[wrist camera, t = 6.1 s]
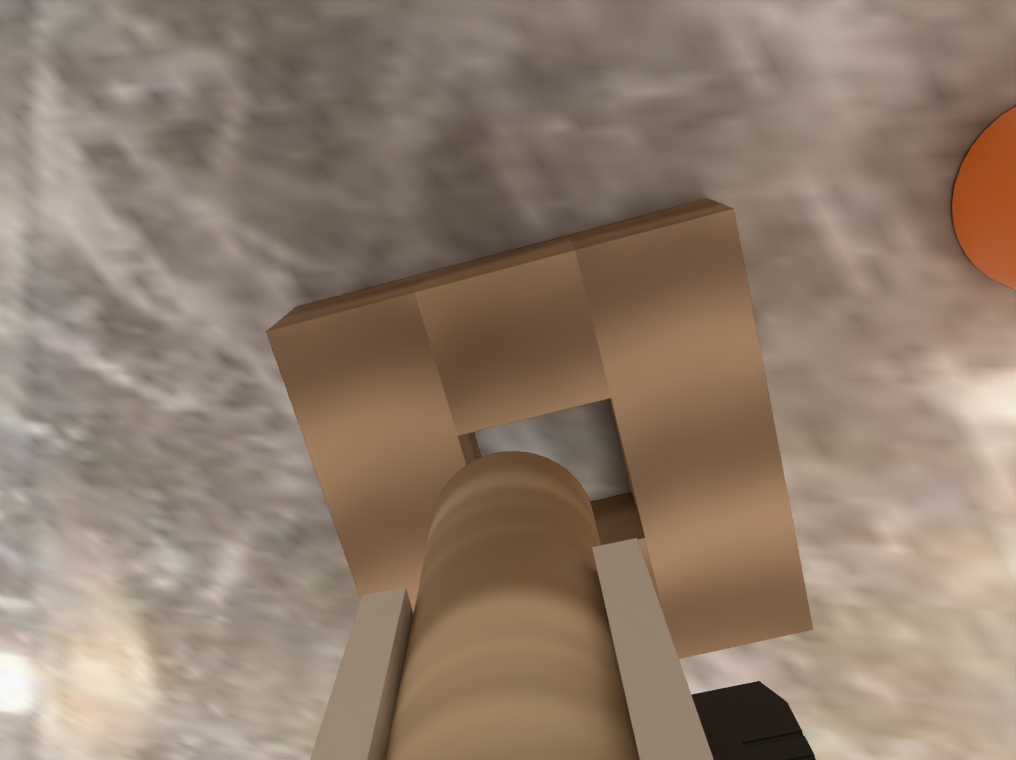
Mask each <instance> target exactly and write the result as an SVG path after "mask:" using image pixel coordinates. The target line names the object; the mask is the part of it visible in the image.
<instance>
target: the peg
mask: <svg viewBox="0 0 1016 760" xmlns="http://www.w3.org/2000/svg"><path fill="white" fill-rule="evenodd" d="M596 546H601V543H600V539H599V535H598V531H597V527H596V523H595V519H594V514H593V511H592V507H591V503H590V501H589V499H588V496H587V494H586V492H585V491H584V489H583V487H582V486H581V484H580V483H579V482H578V481H577V479H576V478H575V477H574V476H573V475H572V474H571V473H570V472H569V471H568V470H566V469H565V468H564V467H562V466H561V465H559V464H558V463H556V462H554V461H552V460H550V459H548V458H545V457H543V456H540V455H537V454H532V453H528V452H519V451H507V452H499V453H494V454H490V455H487V456H484V457H481V458H479V459H476V460H474V461H473V462H471V463H469V464H467V465H466V466H464V467H463V468H462V469H460V470H459V471H458V472H457V473H456V474H455V475H454V476H453V477H452V478H451V479H450V480H449V481H448V482H447V484H446V485H445V486H444V488H443V489H442V491H441V493H440V495H439V497H438V499H437V502H436V504H435V508H434V512H433V516H432V521H431V526H430V531H429V537H428V542H427V547H426V552H425V557H424V562H423V567H422V572H421V577H420V582H419V588H418V593H417V598H416V603H415V608H414V613H413V618H412V624H411V629H410V634H409V639H408V644H407V649H406V654H405V659H404V665H403V670H402V675H401V680H400V685H399V690H398V695H397V700H396V705H395V711H394V716H393V721H392V726H391V731H390V736H389V741H388V746H387V751H386V757H385V760H640V758H639V754H638V750H637V745H636V741H635V736H634V732H633V727H632V723H631V718H630V714H629V710H628V705H627V701H626V696H625V692H624V687H623V683H622V678H621V674H620V670H619V665H618V661H617V656H616V652H615V647H614V643H613V638H612V634H611V630H610V625H609V621H608V616H607V612H606V607H605V603H604V598H603V594H602V589H601V585H600V581H599V576H598V572H597V567H596V563H595V558H594V554H593V549H592V547H596Z"/></svg>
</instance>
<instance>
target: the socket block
mask: <svg viewBox="0 0 1016 760" xmlns="http://www.w3.org/2000/svg"><path fill="white" fill-rule="evenodd" d="M266 333H267V335H268V338H269V341H270V344H271V347H272V350H273V352H274V355H275V358H276V361H277V364H278V366H279V369H280V372H281V375H282V378H283V381H284V383H285V386H286V389H287V392H288V395H289V398H290V400H291V403H292V406H293V409H294V412H295V415H296V417H297V420H298V423H299V426H300V429H301V431H302V434H303V437H304V440H305V443H306V446H307V448H308V451H309V454H310V457H311V460H312V463H313V465H314V468H315V471H316V474H317V477H318V479H319V482H320V485H321V488H322V491H323V494H324V496H325V499H326V502H327V505H328V508H329V511H330V513H331V516H332V519H333V522H334V525H335V527H336V530H337V533H338V536H339V539H340V542H341V544H342V547H343V550H344V553H345V556H346V559H347V561H348V564H349V567H350V570H351V573H352V576H353V578H354V581H355V584H356V587H357V590H358V592H359V595H360V598H361V599H362V596H364V595H368V594H373V593H378V592H383V591H387V590H392V589H397V588H402V587H406V589H407V592H408V596H409V599H410V603H411V606H412V610H413V613H414V608H415V603H416V598H417V593H418V588H419V582H420V577H421V572H422V567H423V562H424V557H425V552H426V547H427V542H428V537H429V531H430V526H431V521H432V516H433V512H434V508H435V504H436V502H437V499H438V497H439V495H440V493H441V491H442V489H443V488H444V486H445V485H446V484H447V482H448V481H449V480H450V479H451V478H452V477H453V476H454V475H455V474H456V473H457V472H458V471H459V470H460V469H462V468H463V467H464V466H466V465H467V464H469V463H471V462H473V461H474V460H476V459H479V458H481V454H480V451H479V448H478V444H477V441H476V437H475V434H474V432H475V431H479V430H483V429H487V428H491V427H495V426H499V425H503V424H508V423H512V422H516V421H520V420H524V419H528V418H532V417H536V416H540V415H544V414H548V413H552V412H556V411H560V410H564V409H568V408H572V407H576V406H581V405H585V404H589V403H593V402H597V401H601V400H605V399H609V403H610V407H611V411H612V415H613V419H614V423H615V427H616V431H617V435H618V439H619V443H620V448H621V452H622V456H623V460H624V464H625V468H626V472H627V476H628V480H629V484H630V488H631V493H628V494H624V495H619V496H615V497H611V498H607V499H602V500H598V501H594V502H590V503H591V507H592V511H593V514H594V519H595V523H596V527H597V531H598V535H599V539H600V543H601V545H606V544H611V543H615V542H620V541H625V540H630V539H635V538H637V540H638V543H639V546H640V549H641V552H642V554H643V557H644V560H645V563H646V566H647V569H648V572H649V575H650V577H651V580H652V583H653V586H654V589H655V592H656V595H657V598H658V601H659V603H660V606H661V609H662V612H663V615H664V618H665V621H666V624H667V627H668V629H669V632H670V635H671V638H672V641H673V644H674V647H675V650H676V652H677V655H678V658H679V659H681V658H685V657H690V656H694V655H699V654H703V653H708V652H713V651H717V650H722V649H726V648H731V647H736V646H740V645H745V644H749V643H754V642H758V641H763V640H768V639H772V638H777V637H781V636H786V635H790V634H795V633H800V632H804V631H809V630H813V626H812V621H811V615H810V610H809V605H808V599H807V594H806V589H805V584H804V578H803V573H802V568H801V562H800V557H799V552H798V547H797V541H796V536H795V531H794V525H793V520H792V515H791V509H790V504H789V499H788V494H787V488H786V483H785V478H784V472H783V467H782V462H781V457H780V451H779V446H778V441H777V435H776V430H775V425H774V420H773V414H772V409H771V404H770V398H769V393H768V388H767V383H766V377H765V372H764V367H763V361H762V356H761V351H760V346H759V340H758V335H757V330H756V324H755V319H754V314H753V308H752V303H751V298H750V293H749V287H748V282H747V277H746V271H745V266H744V261H743V256H742V250H741V245H740V240H739V234H738V229H737V224H736V219H735V213H734V209H733V208H731V207H728V206H726V205H723V204H721V203H718V202H716V201H713V200H710V199H708V198H707V199H704V200H700V201H696V202H692V203H688V204H685V205H681V206H677V207H673V208H669V209H666V210H662V211H658V212H654V213H651V214H647V215H643V216H639V217H635V218H632V219H628V220H624V221H620V222H617V223H613V224H609V225H605V226H601V227H598V228H594V229H590V230H586V231H582V232H579V233H575V234H571V235H567V236H564V237H560V238H556V239H552V240H548V241H545V242H541V243H537V244H533V245H530V246H526V247H522V248H518V249H514V250H511V251H507V252H503V253H499V254H496V255H492V256H488V257H484V258H480V259H477V260H473V261H469V262H465V263H461V264H458V265H454V266H450V267H446V268H443V269H439V270H435V271H431V272H427V273H424V274H420V275H416V276H412V277H409V278H405V279H401V280H397V281H393V282H390V283H386V284H382V285H378V286H375V287H371V288H367V289H363V290H359V291H356V292H352V293H348V294H344V295H340V296H337V297H333V298H329V299H325V300H322V301H318V302H314V303H310V304H306V305H303V306H299V307H295V308H294V309H293V310H292V311H291V312H289V313H288V314H287V315H286V316H284V317H283V318H282V319H281V320H280V321H278V322H277V323H276V324H275V325H273V326H272V327H271V328H270V329H269V330H267V331H266Z"/></svg>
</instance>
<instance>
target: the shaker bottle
mask: <svg viewBox="0 0 1016 760" xmlns="http://www.w3.org/2000/svg"><path fill="white" fill-rule="evenodd" d="M952 212H953V224H954V227H955V231H956V235H957V239H958V241H959V243H960V245H961V247H962V249H963V250H964V252H965V254H966V256H967V257H968V258H969V259H970V260H971V262H972V263H973V264H974V265H975V266H976V268H977V269H979V270H980V271H981V272H983V273H984V274H985V275H987V276H988V277H989V278H991V279H993V280H995V281H997V282H999V283H1002V284H1004V285H1006V286H1009V287H1011V288H1013V289H1016V107H1014V108H1012V109H1011V110H1009V111H1008V112H1006V113H1004V114H1003V115H1001V116H1000V117H999V118H998V119H997V120H996V121H994V122H993V123H992V124H991V125H990V126H989V127H988V128H987V129H985V130H984V132H983V133H982V134H981V135H980V137H979V138H978V139H977V140H976V142H975V143H974V144H973V145H972V147H971V148H970V150H969V152H968V154H967V156H966V157H965V159H964V161H963V163H962V165H961V167H960V170H959V173H958V176H957V179H956V182H955V187H954V193H953V200H952Z"/></svg>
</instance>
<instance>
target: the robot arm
mask: <svg viewBox="0 0 1016 760" xmlns="http://www.w3.org/2000/svg"><path fill="white" fill-rule="evenodd" d="M592 549H593V554H594V558H595V563H596V567H597V572H598V576H599V581H600V585H601V589H602V594H603V598H604V603H605V607H606V612H607V616H608V621H609V625H610V630H611V634H612V638H613V643H614V647H615V652H616V656H617V661H618V665H619V670H620V674H621V678H622V683H623V687H624V692H625V696H626V701H627V705H628V710H629V714H630V718H631V723H632V727H633V732H634V736H635V741H636V745H637V750H638V754H639V758H640V760H816V759H815V756H814V753H813V751H812V749H811V747H810V745H809V744H808V742H807V740H806V738H805V736H803V733H802V730H801V728H800V726H799V724H798V722H797V720H796V718H795V716H794V714H793V713H792V711H791V709H790V707H789V705H788V703H787V702H786V701H785V700H784V699H782V698H781V697H780V696H778V695H777V694H776V693H774V692H773V691H772V690H770V689H769V688H768V687H766V686H765V685H764V684H762V683H761V682H760V681H757V682H752V683H747V684H742V685H737V686H732V687H727V688H722V689H717V690H712V691H707V692H702V693H697V694H692V695H691V693H690V690H689V687H688V684H687V681H686V678H685V676H684V673H683V670H682V667H681V664H680V661H679V658H678V655H677V652H676V650H675V647H674V644H673V641H672V638H671V635H670V632H669V629H668V627H667V624H666V621H665V618H664V615H663V612H662V609H661V606H660V603H659V601H658V598H657V595H656V592H655V589H654V586H653V583H652V580H651V577H650V575H649V572H648V569H647V566H646V563H645V560H644V557H643V554H642V552H641V549H640V546H639V543H638V540H637V538H635V539H630V540H625V541H620V542H615V543H611V544H606V545H601V546H596V547H592ZM412 618H413V610H412V606H411V603H410V599H409V596H408V592H407V589H406V587H402V588H397V589H392V590H387V591H383V592H378V593H373V594H368V595H364V596H362V599H361V602H360V605H359V608H358V611H357V614H356V618H355V621H354V624H353V627H352V630H351V633H350V636H349V640H348V643H347V646H346V649H345V652H344V655H343V659H342V662H341V665H340V668H339V671H338V674H337V677H336V681H335V684H334V687H333V690H332V693H331V696H330V700H329V703H328V706H327V709H326V712H325V715H324V718H323V722H322V725H321V728H320V731H319V734H318V737H317V741H316V744H315V747H314V750H313V753H312V756H311V759H310V760H385V757H386V751H387V746H388V741H389V736H390V731H391V726H392V721H393V716H394V711H395V705H396V700H397V695H398V690H399V685H400V680H401V675H402V670H403V665H404V659H405V654H406V649H407V644H408V639H409V634H410V629H411V624H412Z"/></svg>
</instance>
